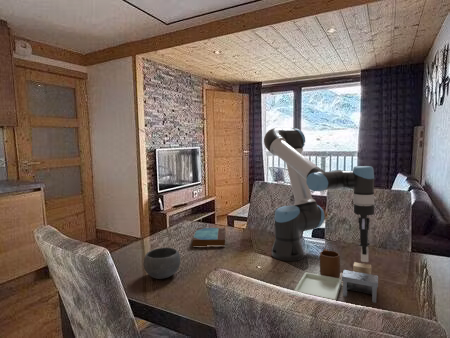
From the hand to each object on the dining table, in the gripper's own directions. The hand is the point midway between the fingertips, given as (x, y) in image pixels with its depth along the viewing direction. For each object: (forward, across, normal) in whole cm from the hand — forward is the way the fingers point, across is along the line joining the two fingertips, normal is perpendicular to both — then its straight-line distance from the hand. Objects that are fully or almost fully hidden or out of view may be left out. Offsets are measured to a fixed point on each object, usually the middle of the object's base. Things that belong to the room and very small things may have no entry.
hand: (364, 261), depth 116 cm
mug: (+5, -8, +13) cm, 16 cm away
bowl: (+4, -39, +74) cm, 84 cm away
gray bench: (+5, -19, +1) cm, 20 cm away
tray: (+5, -23, +14) cm, 27 cm away
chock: (+5, -8, 0) cm, 9 cm away
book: (+4, +8, +80) cm, 81 cm away
